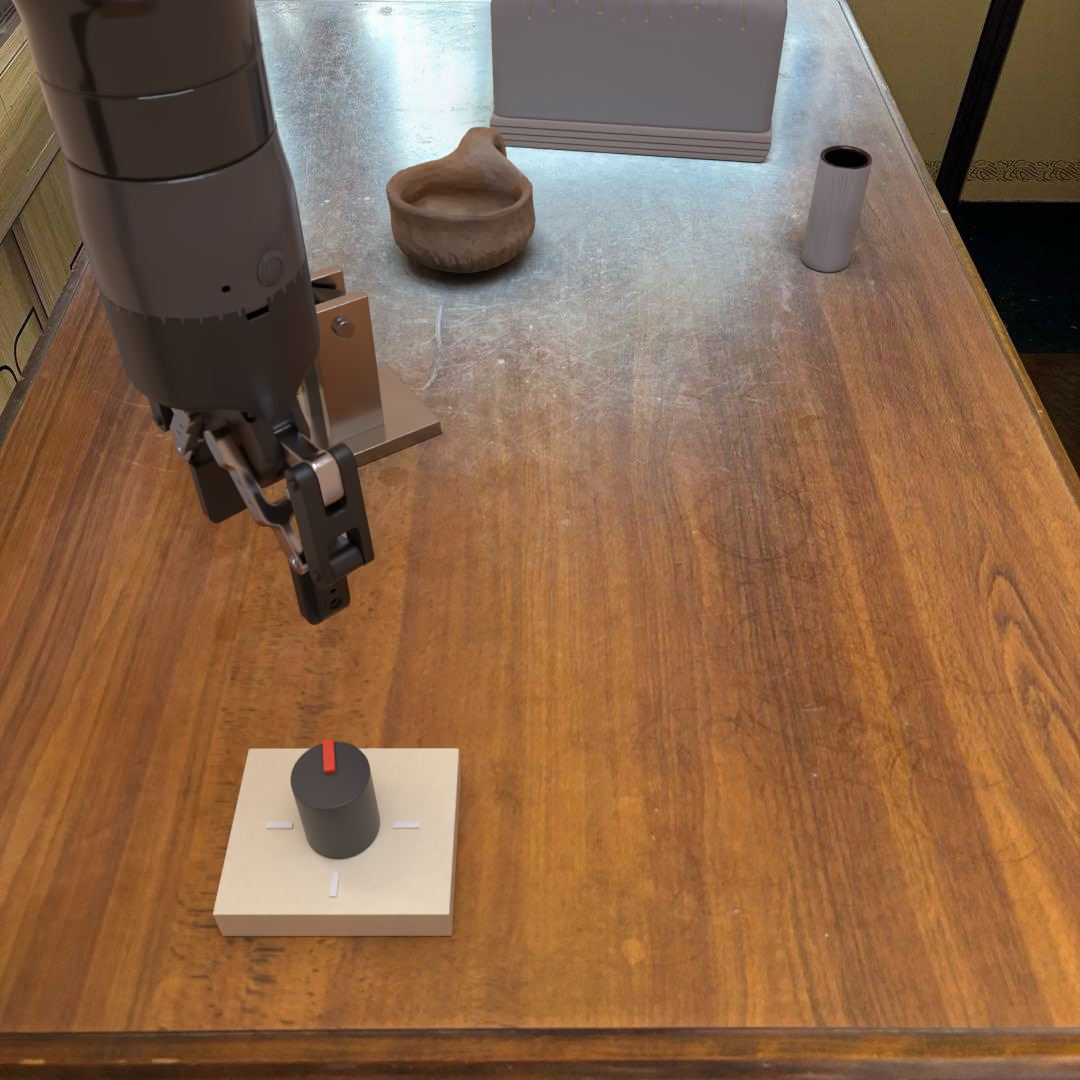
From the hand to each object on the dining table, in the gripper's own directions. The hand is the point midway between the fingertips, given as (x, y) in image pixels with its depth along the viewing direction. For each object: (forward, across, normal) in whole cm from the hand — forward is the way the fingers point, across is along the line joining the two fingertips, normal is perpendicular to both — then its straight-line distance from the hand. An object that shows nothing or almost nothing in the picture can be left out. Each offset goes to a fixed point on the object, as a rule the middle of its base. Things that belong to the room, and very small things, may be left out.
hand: (276, 560), depth 52 cm
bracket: (+18, -26, +19) cm, 37 cm away
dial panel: (+18, +5, -2) cm, 19 cm away
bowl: (+18, -41, +43) cm, 63 cm away
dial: (+16, +5, -2) cm, 16 cm away
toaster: (+18, -56, +82) cm, 101 cm away
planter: (+18, -16, +67) cm, 71 cm away
